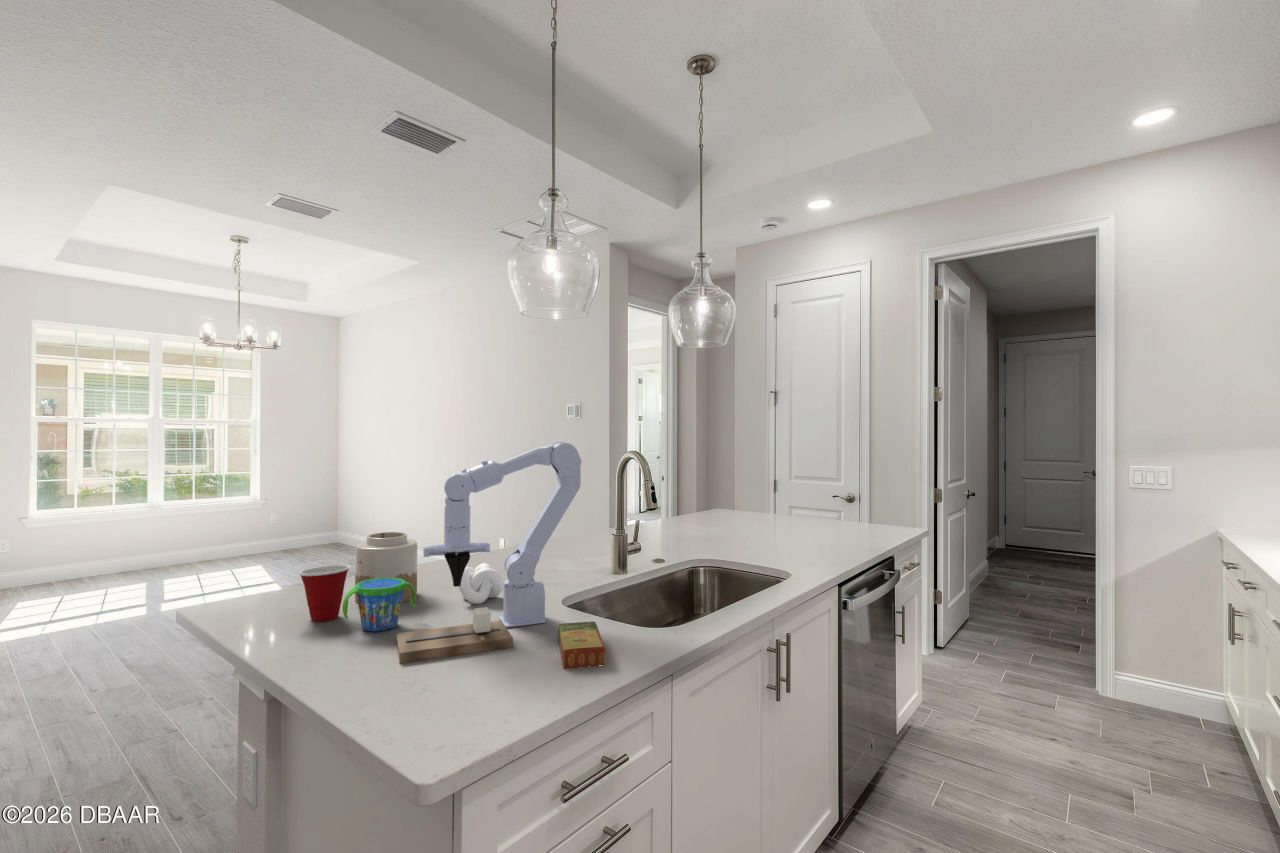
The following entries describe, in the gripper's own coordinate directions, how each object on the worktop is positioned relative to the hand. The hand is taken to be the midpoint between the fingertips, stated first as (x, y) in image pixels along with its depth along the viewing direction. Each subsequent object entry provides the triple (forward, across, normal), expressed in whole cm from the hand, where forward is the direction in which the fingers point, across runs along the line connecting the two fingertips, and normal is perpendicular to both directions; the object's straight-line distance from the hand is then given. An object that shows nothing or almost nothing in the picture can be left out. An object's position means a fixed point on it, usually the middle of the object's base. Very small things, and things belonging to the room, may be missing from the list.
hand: (456, 585), depth 139 cm
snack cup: (+10, -16, +6) cm, 20 cm away
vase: (+10, -14, +31) cm, 35 cm away
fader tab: (+7, +4, -12) cm, 14 cm away
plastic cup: (+10, -28, +18) cm, 35 cm away
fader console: (+9, -2, -12) cm, 15 cm away
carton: (+10, +21, -26) cm, 35 cm away
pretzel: (+10, +9, +19) cm, 23 cm away
